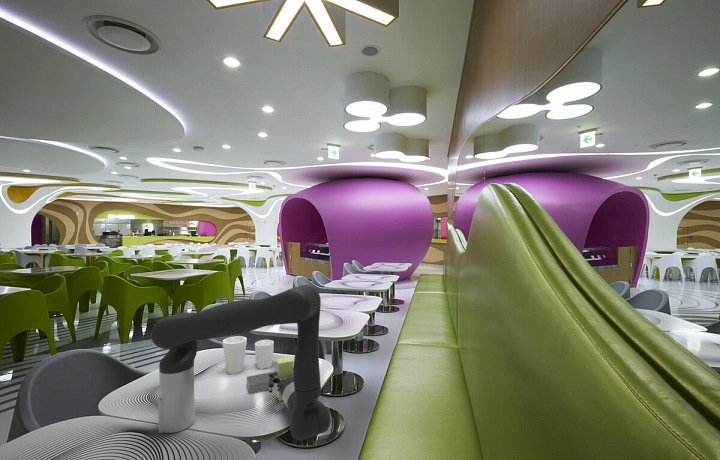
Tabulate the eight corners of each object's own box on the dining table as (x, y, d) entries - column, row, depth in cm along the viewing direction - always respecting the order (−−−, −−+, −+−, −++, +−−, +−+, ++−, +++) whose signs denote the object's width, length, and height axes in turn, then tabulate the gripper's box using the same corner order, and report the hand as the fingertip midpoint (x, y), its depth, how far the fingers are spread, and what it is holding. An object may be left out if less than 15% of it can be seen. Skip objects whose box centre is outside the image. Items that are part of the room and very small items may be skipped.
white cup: (270, 369, 140) (270, 345, 140) (252, 369, 140) (252, 345, 140) (276, 362, 147) (275, 339, 147) (258, 362, 148) (258, 339, 148)
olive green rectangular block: (278, 401, 114) (278, 363, 114) (276, 396, 117) (276, 359, 117) (293, 398, 116) (293, 361, 116) (290, 393, 119) (290, 357, 119)
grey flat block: (249, 393, 119) (249, 385, 119) (246, 384, 126) (246, 376, 126) (308, 381, 128) (308, 373, 128) (303, 373, 136) (303, 366, 136)
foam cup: (222, 368, 141) (222, 338, 141) (245, 364, 145) (245, 335, 145) (223, 377, 132) (223, 345, 132) (247, 373, 136) (247, 341, 136)
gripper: (316, 377, 107) (302, 359, 122) (271, 386, 100) (262, 366, 116) (317, 401, 107) (302, 379, 122) (271, 411, 100) (262, 387, 116)
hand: (283, 373), depth 119 cm, fingers closed on olive green rectangular block, 5 cm apart
